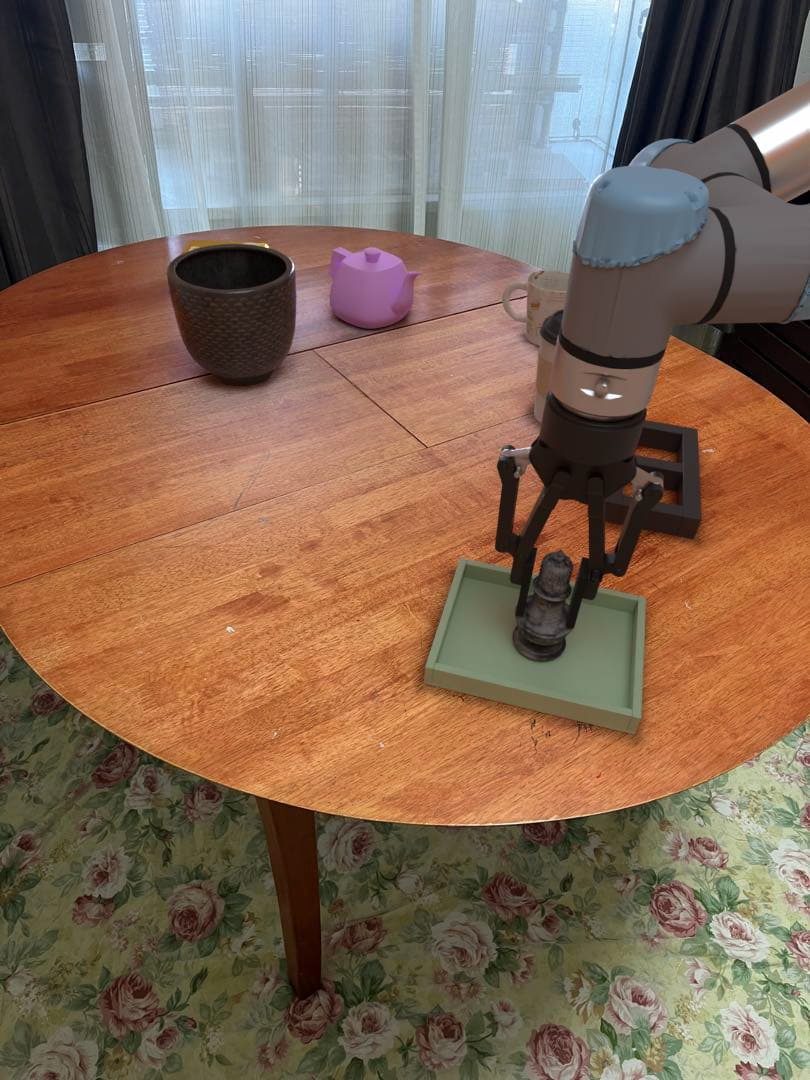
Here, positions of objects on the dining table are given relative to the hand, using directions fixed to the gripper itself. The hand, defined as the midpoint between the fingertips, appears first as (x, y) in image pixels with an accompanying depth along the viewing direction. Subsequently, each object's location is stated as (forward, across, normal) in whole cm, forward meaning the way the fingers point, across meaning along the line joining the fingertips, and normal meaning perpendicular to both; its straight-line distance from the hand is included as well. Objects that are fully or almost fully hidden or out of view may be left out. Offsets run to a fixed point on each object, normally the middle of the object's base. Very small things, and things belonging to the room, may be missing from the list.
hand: (546, 611), depth 72 cm
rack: (+5, +10, +32) cm, 34 cm away
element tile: (+5, -67, +71) cm, 98 cm away
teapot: (+5, -37, +66) cm, 76 cm away
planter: (+5, -50, +41) cm, 65 cm away
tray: (+5, 0, 0) cm, 5 cm away
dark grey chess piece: (+4, 0, 0) cm, 4 cm away
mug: (+5, -10, +68) cm, 69 cm away
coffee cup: (+5, -3, +44) cm, 44 cm away
